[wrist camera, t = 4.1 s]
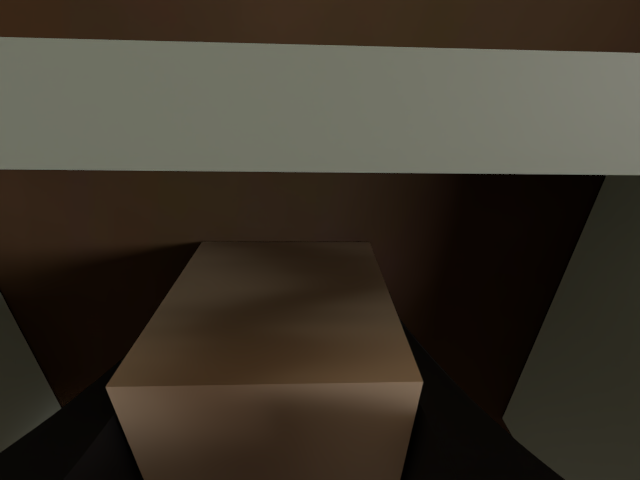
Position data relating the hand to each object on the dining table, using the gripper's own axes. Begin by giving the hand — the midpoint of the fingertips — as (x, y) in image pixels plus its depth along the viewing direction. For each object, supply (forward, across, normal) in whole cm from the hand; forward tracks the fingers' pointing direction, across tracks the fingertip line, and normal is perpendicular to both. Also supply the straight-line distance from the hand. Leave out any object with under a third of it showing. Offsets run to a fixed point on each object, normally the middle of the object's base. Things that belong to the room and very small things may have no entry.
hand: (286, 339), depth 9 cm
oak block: (+1, 0, 0) cm, 1 cm away
